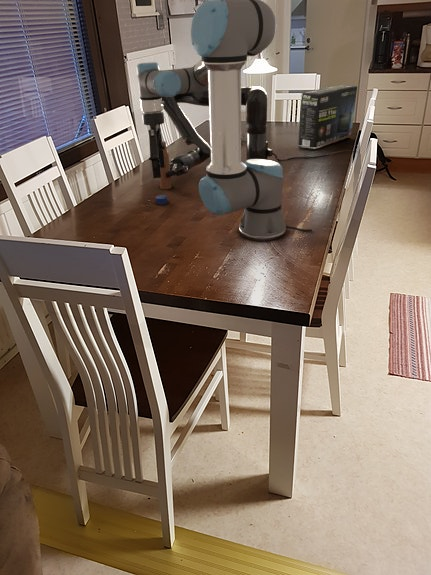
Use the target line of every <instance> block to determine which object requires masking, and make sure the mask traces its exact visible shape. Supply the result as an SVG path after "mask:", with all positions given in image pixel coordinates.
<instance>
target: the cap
mask: <svg viewBox="0 0 431 575" xmlns="http://www.w3.org/2000/svg"><path fill="white" fill-rule="evenodd" d="M155 203H156V205H161V206H162V205H166V204H168V197H167V195H165V194H158V195H156V196H155Z"/></svg>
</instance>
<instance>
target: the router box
mask: <svg viewBox="0 0 431 575" xmlns="http://www.w3.org/2000/svg"><path fill="white" fill-rule="evenodd" d="M357 93H358V86H356V85H350V84H339V85H338V84H337V85H334V86H328V87H324V88H318V89H314V90H309V91H304V92H301V93H300V109H299V110H300V111H299V124H298V137H297V146H298V145H302V146H307V147H317V146H320V145H323V144H325V143H328V142H331V141H333V140H336V139H338V138H341V137H344V136H347V135H351V136H352V133H353V132H352V131H353V125H354V115H355V109H356V99H357ZM311 151H313V150H312V149H311Z"/></svg>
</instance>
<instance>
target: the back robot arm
mask: <svg viewBox="0 0 431 575" xmlns="http://www.w3.org/2000/svg"><path fill="white" fill-rule="evenodd" d="M162 101H164V104H162V105H163V111H164V112H165V113H166V115H167V116H168V117H169V119H170V121H171V122H172V124H173V125H174V127H175V129H176V131H177V133H178V134H179V136H180V137H181V139H182V140H183V142H184V143H185V145H187V146H192V145H195V146H196V147H195V148H193V149H192V150H189V151H186V152H185V153H181V154H179V155H177V156H175V157H172V159H170V171H168V172H166V178H169V177H171V178H172V177H175V176H176V177H180V176H183V175H185V174H188V172H189V171H190V170H192V169H193V168H194V167H197V166H199V165H201V164H203V163H204V162H205V161H206V160H208V159H211V145H209V143H208V142H206V141H205V140H204V139H203V138H202V137H201V136H200V135H199V134H198V132H197V131H196V129H195V127H194V125H193V124H192V122H191V121H190V119H189V118H188V117H187V116H186V115H185V113H184V111H183V110H182V109H181V107H180V106H179V104H189V105H194V106H200V107H202V106H203V107H209V90H206V91H198V92H190V93H183V94H176V95H175V96H173V97H164V96H162ZM241 106H245V123H246V125H245V126H246V127H245V128H246V129H245V132H246V133H245V134H246V135H245V137H246V138H245V140H246V142H245V143H246V145H245V146H246V148H245V149H246V156H245V157H246V160H249V159H265V160H269V158H271V157H273V156H274V157H275V159H276V158H278V155H277V154H276V153H275V152H274V149H272V148H269V142H268V141H267V134H268V132H267V128H268V127H267V126H268V94H267V91H266V90H265V88H263V87H261V86H241ZM352 152H353V153H355V154H356V153H357V152H356V151H355V150H354V151H352ZM327 154H328V155H327ZM327 154H323V155H316V156H293V157H288V158H285V159H279V158H278V159H276V161H277V162H283V161H290V160H296V159H298V160H299V159H302V160H303V159H318V158H319V159H320V158H324V157H329V156H330V155H329V154H330V153H327ZM246 160H245V161H246Z"/></svg>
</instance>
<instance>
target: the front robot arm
mask: <svg viewBox="0 0 431 575" xmlns="http://www.w3.org/2000/svg"><path fill="white" fill-rule="evenodd" d="M190 25H191V27H190V40H191V44H192V46H193V50H194V52H195V53H196V54H197V55H198V56H200V57H201V59H200V60H199V61H198V62H196V64H194V65H193V66H191V67H183V68H174V69H173V68H172V69H163V70H162V69H160V67H159V64H158V62H156V61H155V62H154V61H153V62H140V63H138V64H137V65H136V78H137V84H138V85H137V86H138V92H139V103H140V110H141V112H142V114H141V117H142V118H141V119H142V124H143V125H145V126H149V129H148V131H147V132H148V140H149V157H148V160H149V161H151V168H152V175H153V177H152V178H153V179H159V178H161V170H160V168H165V162H164V152H163V150H162V149H165V146H164V145H163V141H164V139H163V135H162V128H161V125H164V123H165V113H164V109H163V105H162V104H164V101H162V96H164V97H173V96H175V95H176V94H183V93H190V92H198V91H206V90H209V106H208V110H209V112H208V113H209V137H210V139H209V140H210V142H209V143H210V147H211V157H210V162H209V163H208V164H207V165H206V167H205V168H206V169H205V173H206V175H205V176H203V177H202V178H201V179H200V180H199V183H198V192H199V197H200V200H201V202H202V203H203V205H204V207H205V208H206V210H207V211H208V212H210V213H211V214H212V215H215V216H221V215H222V216H223V215H229V214H230V213H234V212H237V211H240V210H244V211H243V213H242V216H241V220H240V222H239V226H238V232H239V235H240V236H241V237H242V238H244V239H247V240H250V241H254V242H271V241H277V240H279V239H281V238H283V237H285V235H286V234H287V229H290V230H295V231H299V232H303V233H304V232H306V233H310V232H313V229H312V228H310V229H309V228H308V229H304V228H299V227H295V226H291V225H287V223H286V221H285V216H284V214H283V210H282V200H283V183H284V174H283V173H284V172H283V171H284V169H283V166H282V164H281V163H280V162H278V161H274V160H270V159H268V160H265V159H249V160H245V161H244V162H243V161H242V139H241V132H242V105H241V87H242V68H243V67H244V66H245V65H246V63H247V62H248V57H255V56H257V55H259V54H260V53H262V52H263V51H264V50H266V49H267V48H268V47H269V46H270V45H271V44H272V42H273V40H274V38H275V36H276V33H277V32H276V31H277V19H276V17H275V13H274V11H273V10H272V8H271V7H270V5H268V4H267V3H266V2H264V1H263V0H206V1H203V2H202V3H201V4H200V5H199V6H198V7H197V8H196V11H195V13H194V14H193V17H192V20H191V24H190Z"/></svg>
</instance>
